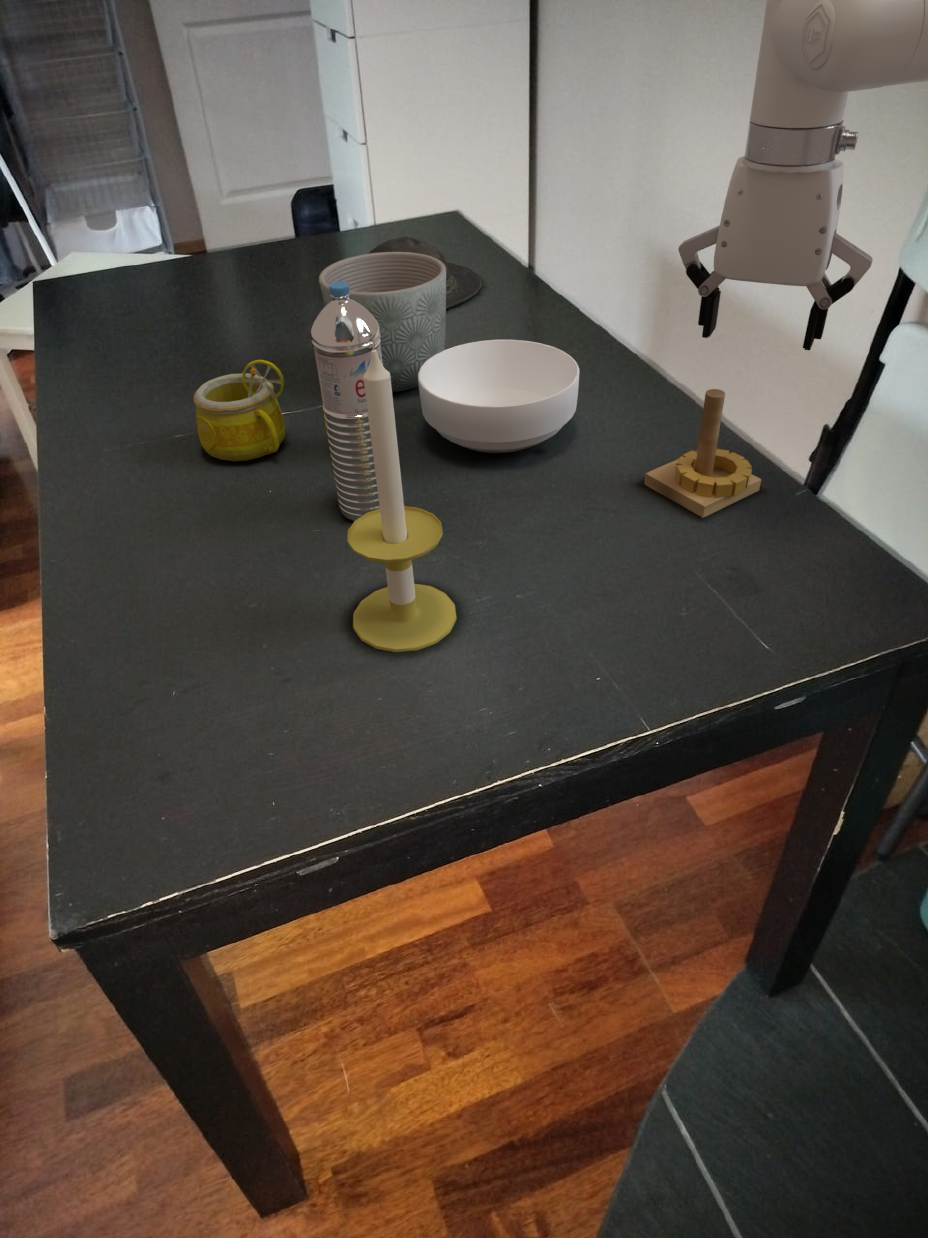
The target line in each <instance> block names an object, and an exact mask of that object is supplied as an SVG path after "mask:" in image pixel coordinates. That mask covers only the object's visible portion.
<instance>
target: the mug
mask: <svg viewBox="0 0 928 1238" xmlns="http://www.w3.org/2000/svg"><path fill="white" fill-rule="evenodd" d="M256 364H262V365H266V366H267V368H266V371H265V374H264V376H262V374H261V372H259V369H258V368H257V366H256ZM249 368H251V369H250V370H249V373H246V372H247V370H248V369H249ZM271 369H273V370H274V371H275V372H276V374H277V375H278V377H279V378H276V379H273V378H271V379H268V378H266V377H267V376H268V374H269V372H270V371H271ZM274 384H278V385H280V389H279V391H278V392H277V393H275V391H274V389H275V387H274ZM284 388H285V379H284V376H283V374H282V371H281V370H280V369H279V367H277V366H276V365H275V364H274V363H272V362H271V361H268V360H264V359H254V360H252V361H251V362H248V363H247V364H246V366H245V367H244V368H243V371H242V373H229V374H225V375H221V376H218V377H215V378H212V379H210V380H207V381H206V382H204V383H203V384H201V385H200V386H199V388H197V390H196V391H195V392H194V394H193V396H192V397H193V399H192V400H193V402H194V405H195V407H196V408H195V416H196V427H197V434H198V438H199V442H200V445H201V448H203V449H204V451H205V452H206V453H207V454H208V455H209V456H211V457H213V458H215V459H218V460H222V461H228V462H245V461H252V460H255V459H260V458H262V457H264V456H267V455H271V454H273V453H276V452H277V451H279V448H280V446H281V444H282V442H283V441H284V439H285V437H286V433H287V431H286V430H287V429H286V423H285V419H284V416H283V411H282V409H281V406H280V404H279V401H278V397H280V396H281V394H282V393H283V390H284Z"/></svg>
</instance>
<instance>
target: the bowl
mask: <svg viewBox="0 0 928 1238" xmlns="http://www.w3.org/2000/svg"><path fill="white" fill-rule="evenodd" d="M418 383H419V386H418V392H419V401H420V406H421V411H422V416H423V418H424V420H425V422H426V423H428V425H430V426H431V427H432V428H433V429H435V430H436V432H437V433H439V434H440V436H442V437H443V438H444V439H446V440H448V441H449V442H451V443H454V444H456V445H458V446H460V447H463V448H466V449H468V450H471V451H475V452H480V453H485V454H505V453H506V454H507V453H508V454H509V453H513V452H520V451H524V450H527V449H530V448H533V447H535V446H537V445H538V444H541V443H543V442H545V441H546V440H549V439H550V438H552V437H553V436H555V435H556V434H557V433H558V432H559V431H561V429H562V428H563V427H564V426H565V425H566V424H568V422H569V421H570V420H571V419H572V418H573V416H574V415H575V413H576V411H577V405H578V398H579V386H580V385H579V383H580V368H579V364H578V362H577V361H576V360H575V359H574V358H573V357H572V356H571V355H570V354H568V353H566V351H564V350H561V349H559V348H557V347H555V346H553V345H548V344H545V343H540V342H535V341H530V340H522V339H488V340H487V339H486V340H479V341H471V342H467V343H462V344H459V345H455V346H452V347H449V348H447V349H444V351H442V352H440V353H438V354H436V355H434V356H432V357H431V358H430V359H428V360H427V361H426V362H425V363H424V364H423V365H422V366H421V368H420V371H419V373H418Z"/></svg>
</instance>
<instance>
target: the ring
mask: <svg viewBox="0 0 928 1238" xmlns="http://www.w3.org/2000/svg"><path fill="white" fill-rule="evenodd" d="M697 449H698V448H696V449H695V450H690V451H688V452H686V453H683V454H682V455H681V456H679V457H678V458H677V459H678V461H677V463H676V470H675V479H676V481H677V482H678V484H679V485H681V487H682V488H684V489H686V490H687V491H689V492H691V493H693V492H696V495H701V496H706V497H712V495H713V494H714V496H715V497H716V498H717V497H729V496H731V494H732V495H737V494H739V493H741V492H743V491H745V488H746V489H747V487H748V485H749V482H750V478H751V474H752V472H753V467H752V465H751V463H750V462H749V460H748V459H745V457H744V456H742V455H740V454H737V453H736V452H734V451H732V452H730V450H727V449H720V448H717V449H716V455H715V462H714V468H719V469H723V470H725V471H727V472H729V473H731V475H729V476H727V477H718V478H714V477H708V476H703V475H701V474H699V473H697V472H695V471H694V470H695V463H696V456H697ZM695 451H696V452H695Z"/></svg>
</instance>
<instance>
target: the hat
mask: <svg viewBox="0 0 928 1238" xmlns="http://www.w3.org/2000/svg"><path fill="white" fill-rule="evenodd" d="M381 252H410V253H418V254H424V255H428V256H431V257H434V258H436V259H438V260H440V261H441V262H442V263H443V264H444V265H445V267H446V310H448V309H451V308H452V307H455V306H457V305H459V304H462V303H465V302H466V301H468V300H469V299H471V298H472V297H474V296H475V295H476V294H477V293H478V292H480V290H481V289H482V286H483V285H482V279H481V277H480V276H479V275H478V274H477V273H476V272H475V271H474V270H473V269H472V268H469V267H466V266H463V265H459V264H456V263H452V262H447V260H446V257H445V256H444V255H443V253H442V252H441V250H439V249H438V248H437V247H436V246H434V245H433V244H430V243H428V242H426V241H424V240H421V239H419V238H414V237H410V236H400V237H397V238H391V239H388V240H386V241H384V242H382V243H380V244H378V245H377V246H375V247H374V248H372V249H371V250H370V251H369V252H368V253H367V254H371V253H381ZM451 275H452V276H453V277H454V278H455V280H456V283H455V280H454V278H452V277H451ZM454 283H455V285H454ZM453 285H454V287H453ZM452 287H453V288H452Z"/></svg>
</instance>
